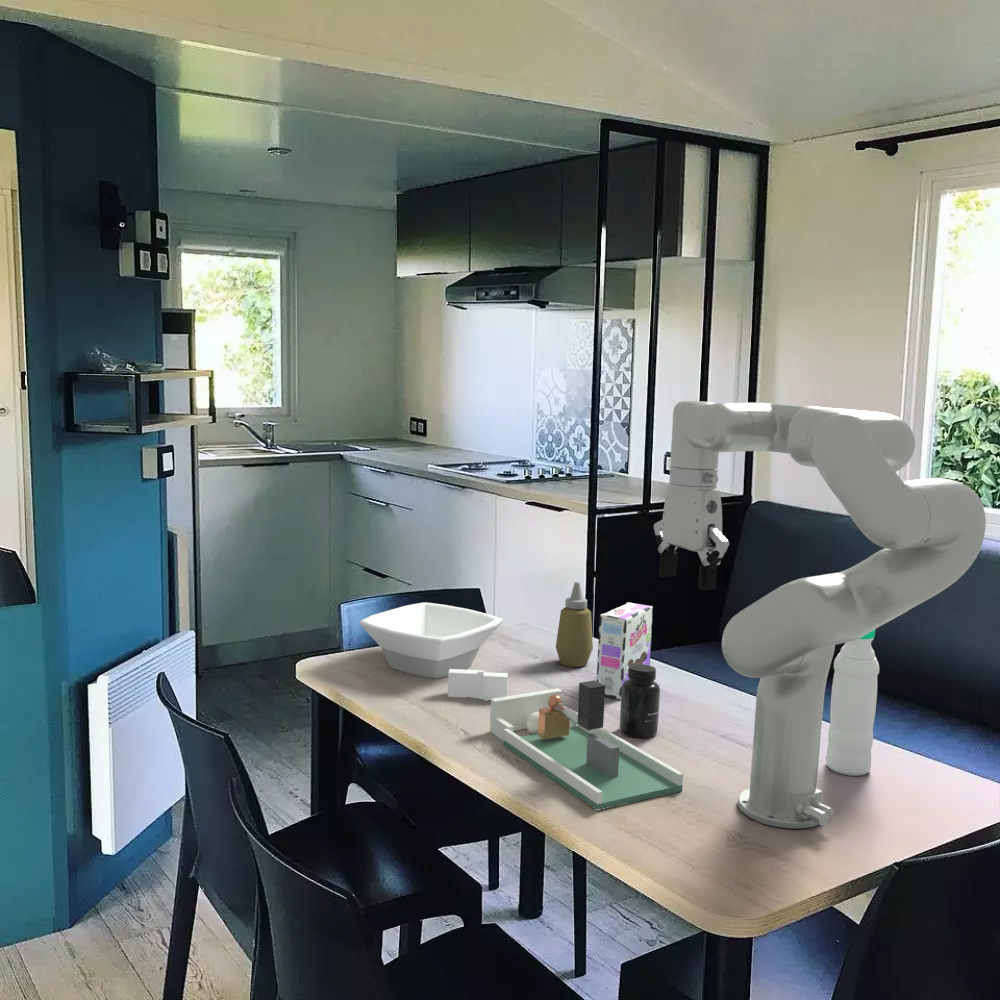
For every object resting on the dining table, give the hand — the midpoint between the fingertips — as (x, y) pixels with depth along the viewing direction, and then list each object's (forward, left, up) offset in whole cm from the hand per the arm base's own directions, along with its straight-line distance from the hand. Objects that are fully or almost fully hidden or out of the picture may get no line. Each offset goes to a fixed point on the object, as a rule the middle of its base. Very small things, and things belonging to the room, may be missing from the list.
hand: (686, 582), depth 167 cm
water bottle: (-15, -24, -31) cm, 42 cm away
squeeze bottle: (+52, -14, -31) cm, 62 cm away
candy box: (+34, -14, -31) cm, 48 cm away
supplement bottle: (+13, -2, -31) cm, 33 cm away
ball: (+20, +15, -28) cm, 38 cm away
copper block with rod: (+9, +15, -29) cm, 34 cm away
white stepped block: (+41, +15, -31) cm, 54 cm away
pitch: (+7, +15, -30) cm, 35 cm away
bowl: (+63, +15, -31) cm, 72 cm away
